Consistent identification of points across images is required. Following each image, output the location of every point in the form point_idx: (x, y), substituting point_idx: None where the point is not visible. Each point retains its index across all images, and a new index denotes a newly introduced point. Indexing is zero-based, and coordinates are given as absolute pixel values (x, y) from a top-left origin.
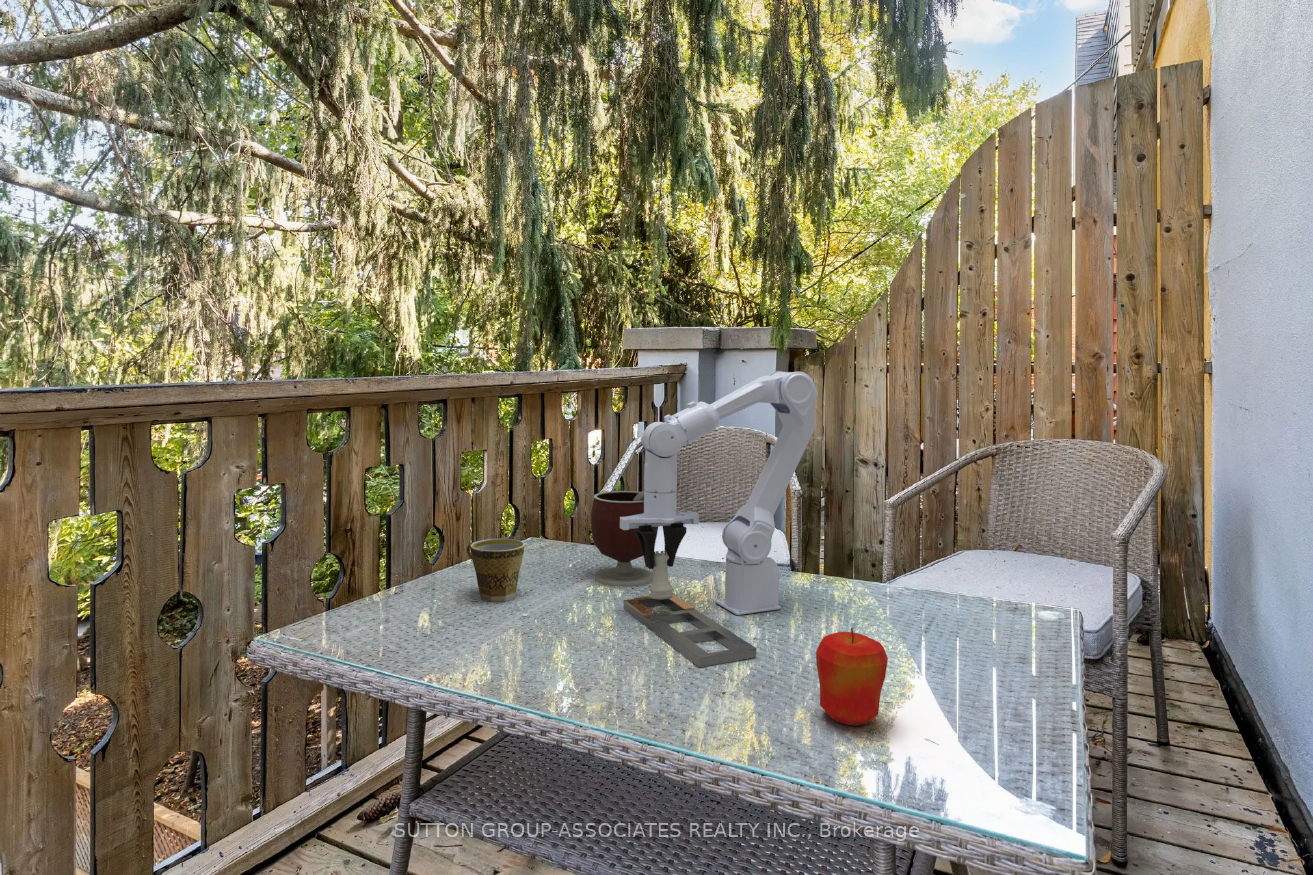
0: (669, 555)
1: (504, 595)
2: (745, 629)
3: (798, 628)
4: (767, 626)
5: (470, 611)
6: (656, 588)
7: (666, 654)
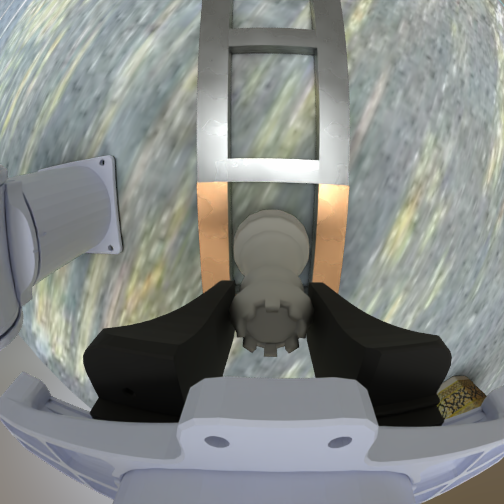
0: (226, 310)
1: (459, 380)
2: (140, 75)
3: (63, 71)
4: (96, 85)
5: (496, 346)
6: (300, 235)
7: (364, 21)
